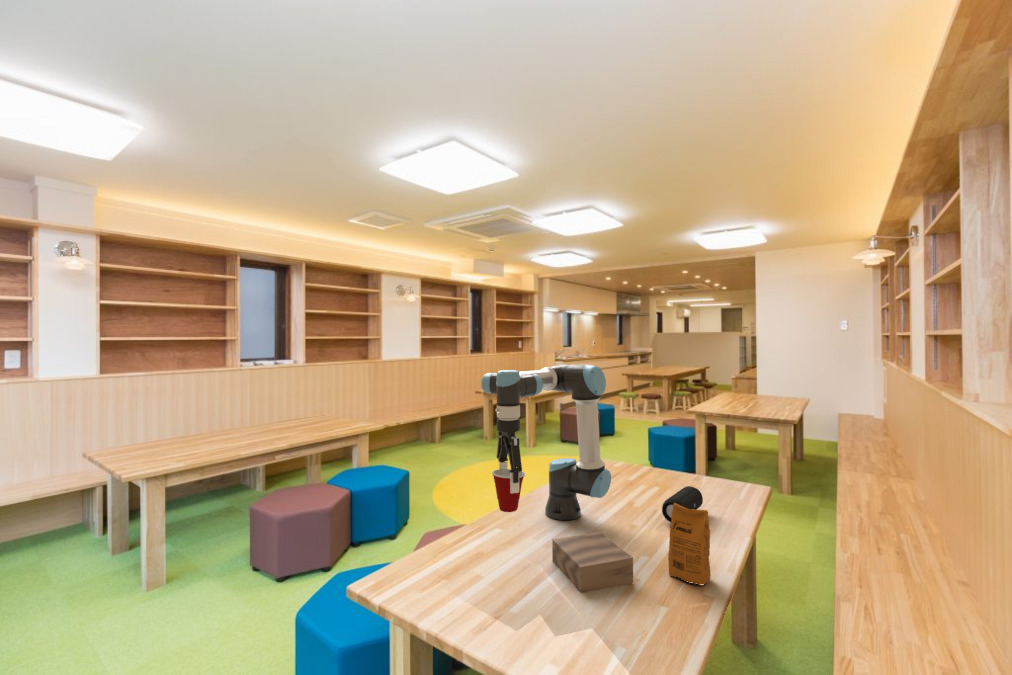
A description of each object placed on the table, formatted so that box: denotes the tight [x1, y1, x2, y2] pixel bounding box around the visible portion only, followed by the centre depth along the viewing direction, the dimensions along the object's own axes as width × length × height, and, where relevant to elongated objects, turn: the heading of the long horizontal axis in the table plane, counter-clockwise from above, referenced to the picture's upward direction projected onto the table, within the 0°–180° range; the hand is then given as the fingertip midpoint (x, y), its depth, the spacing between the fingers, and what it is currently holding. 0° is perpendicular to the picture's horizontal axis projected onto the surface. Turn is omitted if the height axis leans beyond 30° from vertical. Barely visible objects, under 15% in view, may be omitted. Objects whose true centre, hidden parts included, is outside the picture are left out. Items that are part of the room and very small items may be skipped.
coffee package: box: [667, 503, 711, 585], centre depth 144 cm, size 10×12×22 cm
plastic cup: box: [491, 468, 526, 513], centre depth 146 cm, size 11×11×12 cm
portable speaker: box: [661, 485, 704, 523], centre depth 194 cm, size 26×10×10 cm, turn 139°
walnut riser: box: [551, 531, 634, 593], centre depth 146 cm, size 20×18×8 cm
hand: (508, 487), depth 146 cm, fingers closed on plastic cup, 11 cm apart
